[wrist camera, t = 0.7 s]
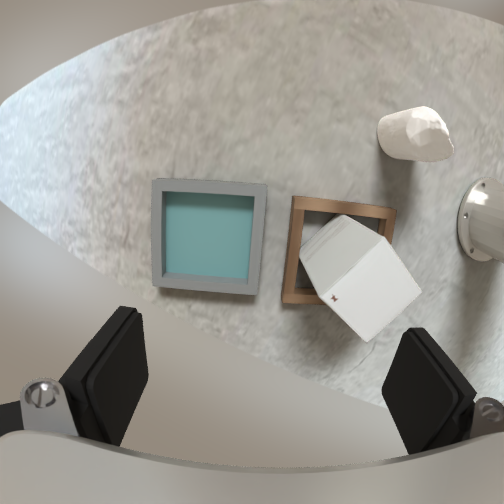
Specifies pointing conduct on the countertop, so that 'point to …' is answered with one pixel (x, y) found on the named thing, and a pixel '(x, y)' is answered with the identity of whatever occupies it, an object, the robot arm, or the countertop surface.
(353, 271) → the supplement box
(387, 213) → the wooden picture frame
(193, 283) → the dock
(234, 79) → the countertop surface
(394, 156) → the white rounded piece
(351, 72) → the countertop surface
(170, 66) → the countertop surface
